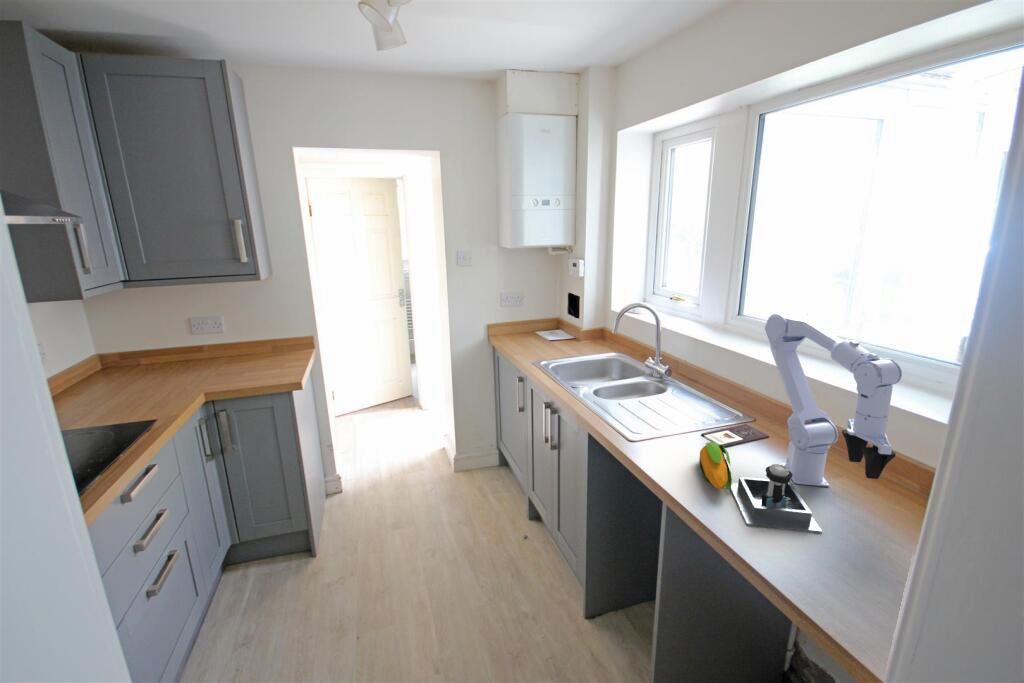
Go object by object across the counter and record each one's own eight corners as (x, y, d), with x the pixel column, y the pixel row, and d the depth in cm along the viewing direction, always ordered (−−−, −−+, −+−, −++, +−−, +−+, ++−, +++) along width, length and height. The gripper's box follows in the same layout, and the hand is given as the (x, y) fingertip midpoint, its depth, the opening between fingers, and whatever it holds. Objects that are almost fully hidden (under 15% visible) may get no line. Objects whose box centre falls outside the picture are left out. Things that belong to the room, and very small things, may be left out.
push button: (780, 497, 110) (786, 460, 107) (797, 510, 105) (804, 472, 102) (755, 500, 109) (761, 463, 106) (771, 514, 104) (777, 475, 101)
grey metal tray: (728, 484, 116) (730, 472, 115) (792, 490, 113) (794, 477, 113) (746, 525, 101) (748, 511, 100) (821, 533, 98) (824, 519, 97)
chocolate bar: (769, 435, 140) (723, 446, 134) (769, 438, 140) (722, 449, 134) (745, 424, 148) (701, 433, 142) (745, 426, 148) (701, 436, 143)
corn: (726, 435, 126) (740, 474, 107) (725, 460, 128) (738, 502, 109) (697, 434, 128) (706, 472, 109) (697, 458, 130) (705, 499, 111)
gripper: (835, 400, 108) (829, 453, 111) (867, 424, 94) (859, 484, 97) (870, 402, 107) (862, 455, 109) (907, 426, 93) (897, 487, 96)
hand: (863, 469), depth 103 cm, fingers open, 7 cm apart
